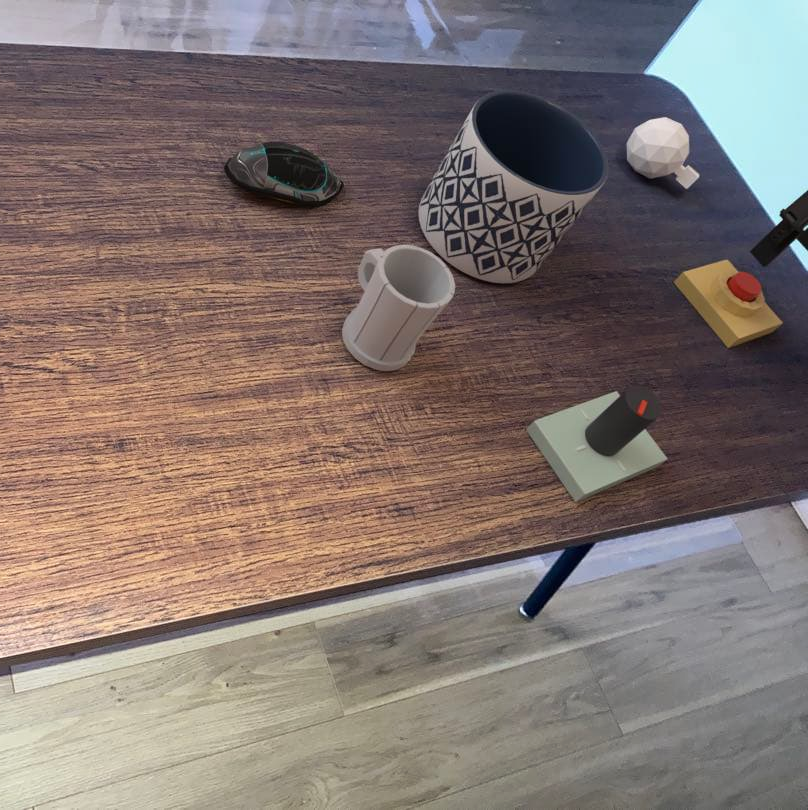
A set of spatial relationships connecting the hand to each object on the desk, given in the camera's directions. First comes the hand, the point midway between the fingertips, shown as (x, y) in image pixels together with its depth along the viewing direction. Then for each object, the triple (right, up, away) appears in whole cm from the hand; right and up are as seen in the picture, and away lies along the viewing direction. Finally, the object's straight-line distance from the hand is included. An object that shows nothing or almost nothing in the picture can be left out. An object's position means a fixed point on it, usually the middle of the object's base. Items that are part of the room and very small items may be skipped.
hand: (781, 251), depth 119 cm
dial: (-29, -24, -14) cm, 40 cm away
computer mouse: (-66, +8, -2) cm, 66 cm away
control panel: (-29, -25, -12) cm, 41 cm away
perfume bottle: (-8, +15, +22) cm, 29 cm away
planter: (-39, +3, +3) cm, 39 cm away
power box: (-3, -6, +9) cm, 12 cm away
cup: (-55, -12, -12) cm, 58 cm away
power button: (-2, -4, +6) cm, 8 cm away
